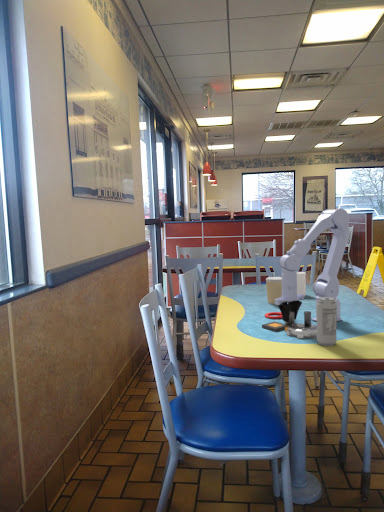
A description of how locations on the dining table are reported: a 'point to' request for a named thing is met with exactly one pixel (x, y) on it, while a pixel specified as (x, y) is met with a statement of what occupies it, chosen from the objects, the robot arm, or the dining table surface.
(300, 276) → the white upright block
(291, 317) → the roller
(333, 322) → the energy drink can
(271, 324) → the pad
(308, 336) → the sprocket
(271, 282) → the coffee cup
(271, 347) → the dining table surface
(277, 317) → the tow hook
